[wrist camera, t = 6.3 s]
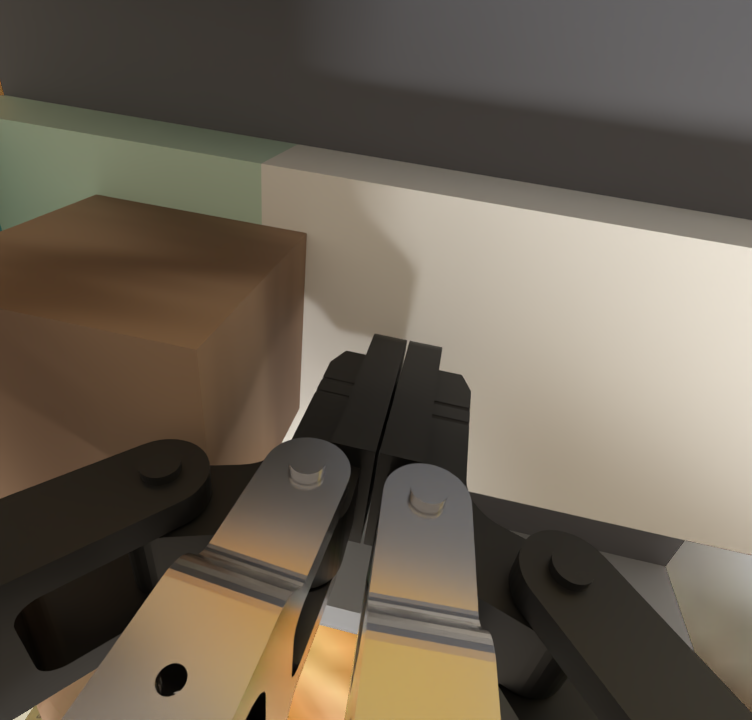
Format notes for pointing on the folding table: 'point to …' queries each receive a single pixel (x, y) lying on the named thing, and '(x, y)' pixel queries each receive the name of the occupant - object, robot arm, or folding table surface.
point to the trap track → (457, 220)
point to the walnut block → (145, 336)
